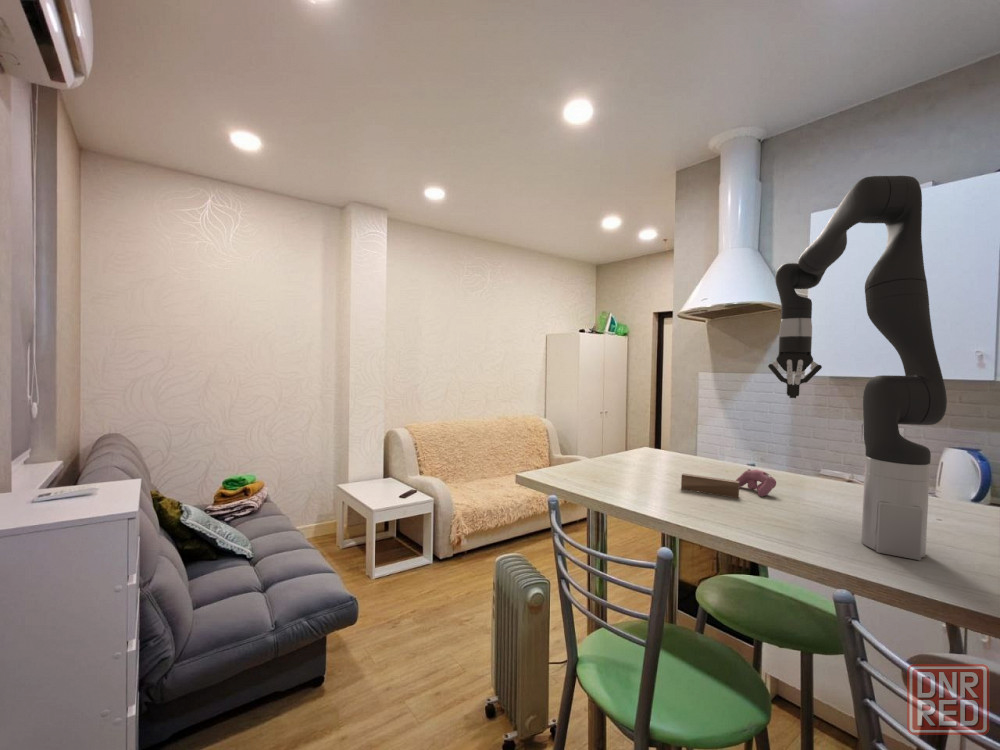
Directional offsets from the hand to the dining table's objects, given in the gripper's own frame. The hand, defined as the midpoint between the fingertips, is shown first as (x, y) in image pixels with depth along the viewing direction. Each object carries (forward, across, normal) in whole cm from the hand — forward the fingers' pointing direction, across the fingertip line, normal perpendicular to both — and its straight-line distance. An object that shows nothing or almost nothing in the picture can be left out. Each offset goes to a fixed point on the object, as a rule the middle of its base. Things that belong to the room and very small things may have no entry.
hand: (792, 397), depth 123 cm
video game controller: (+26, -8, -7) cm, 28 cm away
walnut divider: (+26, -19, -16) cm, 36 cm away
